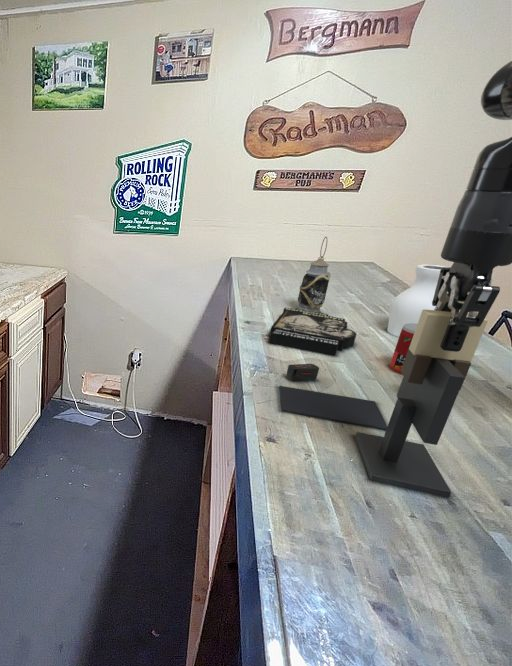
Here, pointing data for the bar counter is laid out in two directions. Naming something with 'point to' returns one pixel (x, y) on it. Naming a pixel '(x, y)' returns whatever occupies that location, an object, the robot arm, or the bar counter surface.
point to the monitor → (428, 419)
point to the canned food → (402, 347)
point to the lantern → (314, 285)
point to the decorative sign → (311, 332)
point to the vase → (414, 299)
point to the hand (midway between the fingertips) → (443, 343)
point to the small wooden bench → (437, 346)
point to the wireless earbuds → (302, 372)
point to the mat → (331, 407)
